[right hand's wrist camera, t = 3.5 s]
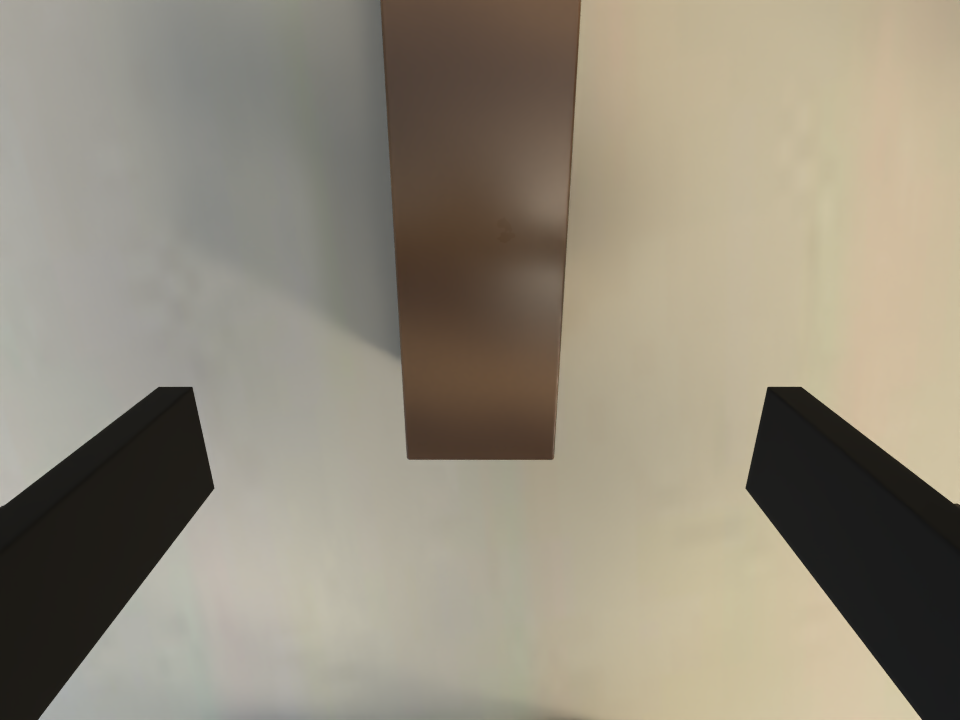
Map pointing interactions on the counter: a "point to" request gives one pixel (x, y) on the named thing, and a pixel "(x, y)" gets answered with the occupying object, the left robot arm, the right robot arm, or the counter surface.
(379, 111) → the counter surface
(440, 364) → the bar
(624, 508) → the counter surface
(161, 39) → the counter surface
